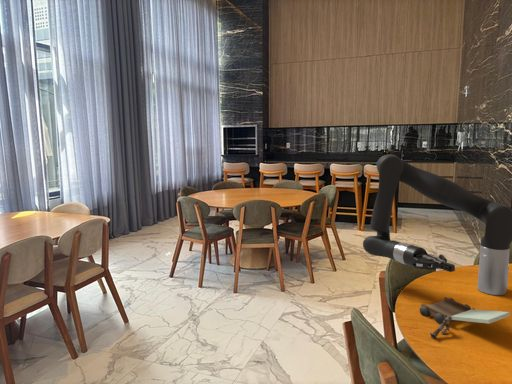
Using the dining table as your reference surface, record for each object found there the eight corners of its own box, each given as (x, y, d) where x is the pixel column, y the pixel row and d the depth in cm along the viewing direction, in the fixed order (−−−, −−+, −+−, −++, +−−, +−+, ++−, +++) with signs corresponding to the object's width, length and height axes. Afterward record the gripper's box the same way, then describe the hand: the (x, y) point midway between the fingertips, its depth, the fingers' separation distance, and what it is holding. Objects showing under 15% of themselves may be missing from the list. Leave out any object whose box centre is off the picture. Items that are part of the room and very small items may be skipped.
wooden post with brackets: (453, 328, 114) (450, 317, 113) (438, 346, 111) (435, 335, 109) (447, 326, 116) (444, 315, 114) (432, 343, 112) (429, 332, 111)
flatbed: (447, 304, 132) (447, 296, 132) (476, 317, 123) (476, 308, 122) (418, 313, 126) (419, 305, 125) (447, 327, 117) (447, 318, 116)
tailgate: (471, 309, 122) (509, 312, 111) (472, 312, 122) (510, 315, 111) (451, 316, 117) (488, 319, 107) (451, 319, 117) (489, 323, 107)
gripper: (396, 248, 133) (439, 261, 118) (422, 241, 139) (467, 253, 124) (396, 268, 134) (439, 284, 119) (422, 261, 140) (466, 275, 125)
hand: (453, 268), depth 121 cm, fingers closed
